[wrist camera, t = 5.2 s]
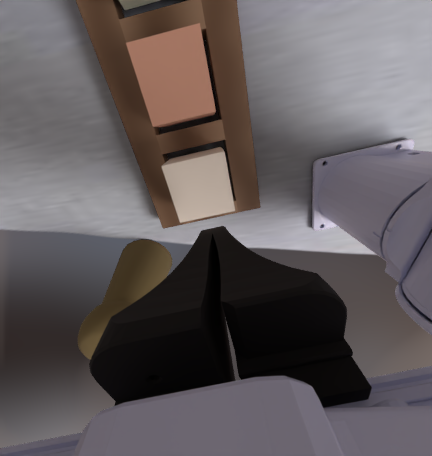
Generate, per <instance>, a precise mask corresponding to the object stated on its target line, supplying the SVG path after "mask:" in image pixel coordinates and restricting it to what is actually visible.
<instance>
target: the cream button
mask: <svg viewBox="0 0 432 456" xmlns="http://www.w3.org/2000/svg"><path fill="white" fill-rule="evenodd" d="M161 167H162V170H163V173H164V176H165V179H166V182H167V185H168V188H169V191H170V194H171V197H172V200H173V203H174V206H175V209H176V212H177V215H178V218H179V221H180V223H182V222H187V221H191V220H196V219H200V218H205V217H210V216H214V215H219V214H223V213H228V212H233V211H235V207H234V201H233V196H232V190H231V185H230V179H229V174H228V168H227V163H226V157H225V152H224V150H223V149H222V148H221V147H217V148H213V149H209V150H205V151H200V152H196V153H192V154H188V155H183V156H179V157H175V158H171V159H169V160H168V161H167V162H166V163H164V164H163V165H162V166H161Z"/></svg>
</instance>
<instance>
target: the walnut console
mask: <svg viewBox="0 0 432 456" xmlns="http://www.w3.org/2000/svg"><path fill="white" fill-rule="evenodd" d="M76 2H77V5H78V8H79V10H80V13H81V16H82V18H83V21H84V23H85V26H86V29H87V31H88V34H89V36H90V39H91V42H92V44H93V47H94V49H95V52H96V55H97V57H98V60H99V63H100V65H101V68H102V70H103V73H104V76H105V78H106V81H107V83H108V86H109V89H110V91H111V94H112V96H113V99H114V102H115V104H116V107H117V110H118V112H119V115H120V117H121V120H122V123H123V125H124V128H125V130H126V133H127V136H128V138H129V141H130V143H131V146H132V149H133V151H134V154H135V157H136V159H137V162H138V164H139V167H140V170H141V172H142V175H143V177H144V180H145V183H146V185H147V188H148V190H149V193H150V196H151V198H152V201H153V204H154V206H155V209H156V211H157V214H158V217H159V219H160V222H161V224H162V227H163V228H168V227H173V226H177V225H182V224H186V223H191V222H196V221H200V220H205V219H210V218H214V217H219V216H223V215H228V214H233V213H237V212H242V211H247V210H251V209H256V208H260V199H259V191H258V182H257V173H256V164H255V156H254V147H253V138H252V130H251V121H250V112H249V104H248V95H247V86H246V78H245V69H244V60H243V52H242V43H241V34H240V26H239V17H238V8H237V0H188V1H184V2H180V3H177V4H173V5H170V6H166V7H162V8H159V9H155V10H152V11H148V12H144V13H141V14H137V15H134V16H130V17H126V18H125V17H124V14H123V11H122V7H121V4H120V2H119V0H76ZM198 23H200V27H201V33H202V38H203V41H205V40H206V43H207V49H208V55H209V60H210V66H211V72H212V77H213V83H214V88H215V94H216V100H217V105H218V111H219V116H220V120H217V121H213V122H209V123H205V124H201V125H197V126H193V127H189V128H184V129H180V130H176V131H172V132H168V133H164V134H161V133H160V130H159V127H153V126H152V123H151V120H150V116H149V113H148V110H147V107H146V104H145V101H144V98H143V95H142V92H141V89H140V85H139V82H138V79H137V76H136V73H135V70H134V67H133V64H132V61H131V57H130V54H129V51H128V48H127V45H126V43H127V42H131V41H135V40H139V39H142V38H146V37H150V36H153V35H157V34H161V33H164V32H168V31H172V30H176V29H179V28H183V27H187V26H190V25H194V24H198ZM221 140H224V145H225V150H226V156H227V161H228V167H229V173H230V178H231V184H232V190H233V195H232V196H233V201H234V207H235V211H233V212H228V213H223V214H219V215H214V216H210V217H205V218H200V219H196V220H191V221H187V222H182V223H180V221H179V218H178V215H177V212H176V209H175V206H174V203H173V200H172V197H171V194H170V191H169V188H168V185H167V182H166V179H165V176H164V173H163V170H162V167H161V166H162V165H163V164H164V163H166V162H167V161H168V160H169V159H168V156H167V153H170V152H175V151H179V150H183V149H187V148H192V147H196V146H200V145H204V144H208V143H213V142H217V141H221Z"/></svg>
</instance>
